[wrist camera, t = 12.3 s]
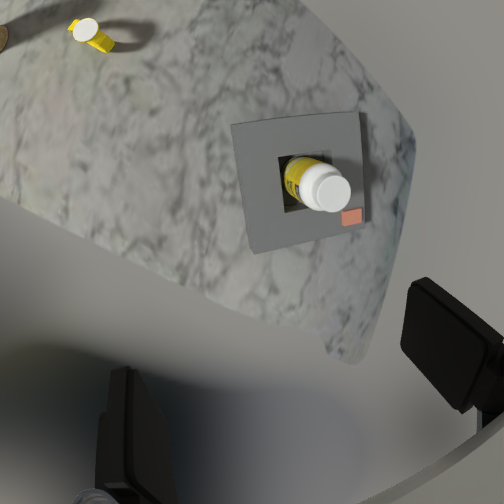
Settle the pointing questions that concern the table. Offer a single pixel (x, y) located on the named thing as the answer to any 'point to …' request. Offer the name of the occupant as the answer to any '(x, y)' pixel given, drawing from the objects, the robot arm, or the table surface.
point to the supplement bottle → (315, 184)
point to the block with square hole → (269, 182)
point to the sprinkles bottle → (3, 36)
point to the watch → (91, 34)
